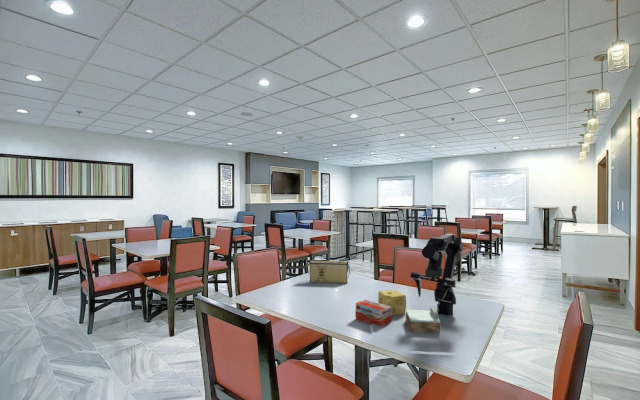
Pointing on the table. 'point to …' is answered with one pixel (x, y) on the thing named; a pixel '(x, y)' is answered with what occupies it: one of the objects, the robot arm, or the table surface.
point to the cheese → (393, 301)
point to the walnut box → (423, 326)
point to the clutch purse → (328, 271)
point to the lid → (423, 315)
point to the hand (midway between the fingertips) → (430, 299)
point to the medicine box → (373, 313)
